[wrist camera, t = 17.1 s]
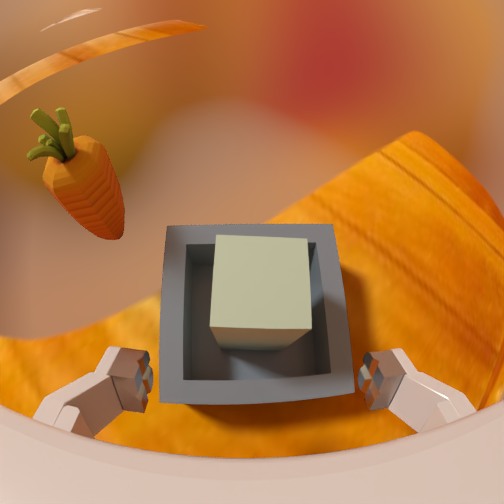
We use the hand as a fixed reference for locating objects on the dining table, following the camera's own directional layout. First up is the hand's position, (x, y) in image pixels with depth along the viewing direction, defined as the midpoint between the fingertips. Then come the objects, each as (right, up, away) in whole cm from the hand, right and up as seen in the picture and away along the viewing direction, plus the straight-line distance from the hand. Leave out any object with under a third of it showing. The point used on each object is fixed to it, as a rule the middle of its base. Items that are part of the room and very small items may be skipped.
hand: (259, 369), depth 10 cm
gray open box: (0, -1, +13) cm, 13 cm away
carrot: (-13, +6, +15) cm, 21 cm away
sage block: (0, -1, +12) cm, 12 cm away
